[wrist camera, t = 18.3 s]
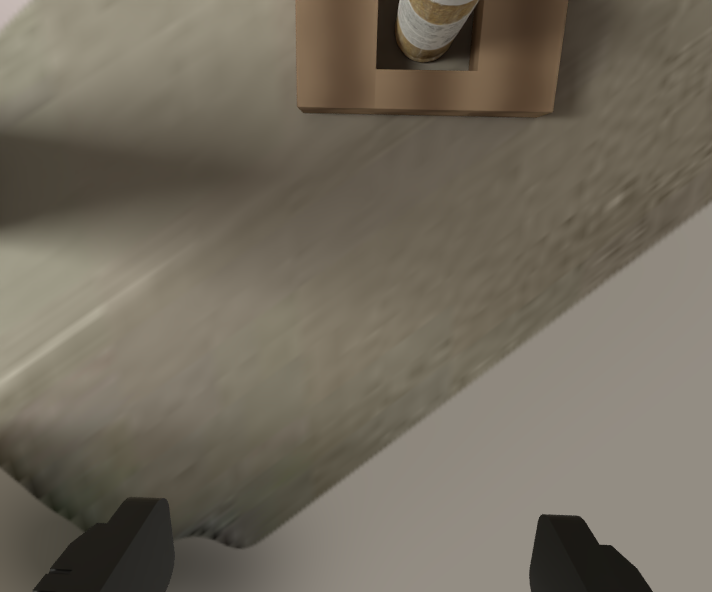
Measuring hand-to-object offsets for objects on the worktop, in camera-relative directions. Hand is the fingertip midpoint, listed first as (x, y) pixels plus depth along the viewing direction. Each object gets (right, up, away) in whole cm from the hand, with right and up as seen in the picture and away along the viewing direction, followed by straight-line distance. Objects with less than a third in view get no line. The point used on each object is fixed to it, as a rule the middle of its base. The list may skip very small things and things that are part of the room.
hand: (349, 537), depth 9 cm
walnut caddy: (+5, +25, +22) cm, 34 cm away
